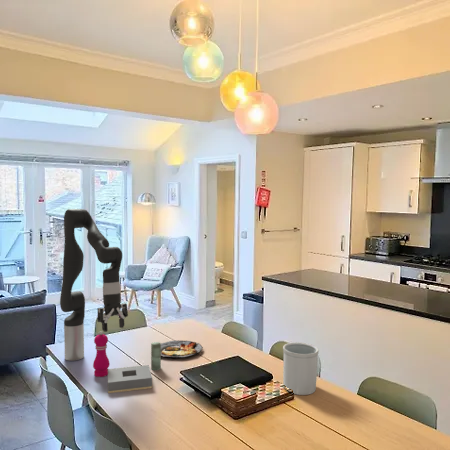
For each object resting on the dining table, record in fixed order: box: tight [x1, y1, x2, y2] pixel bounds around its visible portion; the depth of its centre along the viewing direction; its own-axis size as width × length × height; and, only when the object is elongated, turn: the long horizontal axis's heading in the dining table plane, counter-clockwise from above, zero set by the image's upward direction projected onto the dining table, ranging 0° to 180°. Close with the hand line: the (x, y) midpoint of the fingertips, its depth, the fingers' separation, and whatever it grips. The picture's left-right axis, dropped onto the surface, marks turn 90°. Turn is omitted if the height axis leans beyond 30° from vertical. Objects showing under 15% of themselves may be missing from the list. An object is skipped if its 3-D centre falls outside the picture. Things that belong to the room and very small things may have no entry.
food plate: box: [160, 340, 203, 358], centre depth 220 cm, size 25×23×4 cm
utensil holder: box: [282, 341, 320, 396], centre depth 179 cm, size 15×15×18 cm
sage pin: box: [150, 341, 162, 371], centre depth 198 cm, size 4×4×12 cm
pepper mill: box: [92, 330, 111, 378], centre depth 191 cm, size 7×7×20 cm
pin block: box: [107, 364, 153, 394], centre depth 182 cm, size 14×18×4 cm
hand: (113, 329), depth 184 cm, fingers open, 8 cm apart
